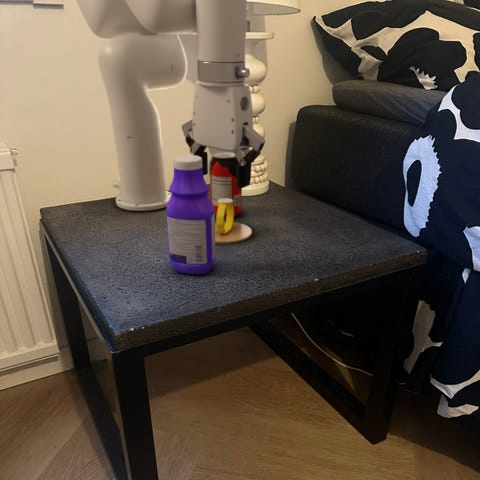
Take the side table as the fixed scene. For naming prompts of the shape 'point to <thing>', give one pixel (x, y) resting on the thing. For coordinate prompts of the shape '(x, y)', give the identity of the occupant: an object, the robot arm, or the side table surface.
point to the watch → (222, 207)
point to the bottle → (190, 218)
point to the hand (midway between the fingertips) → (221, 181)
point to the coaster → (233, 234)
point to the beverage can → (224, 180)
